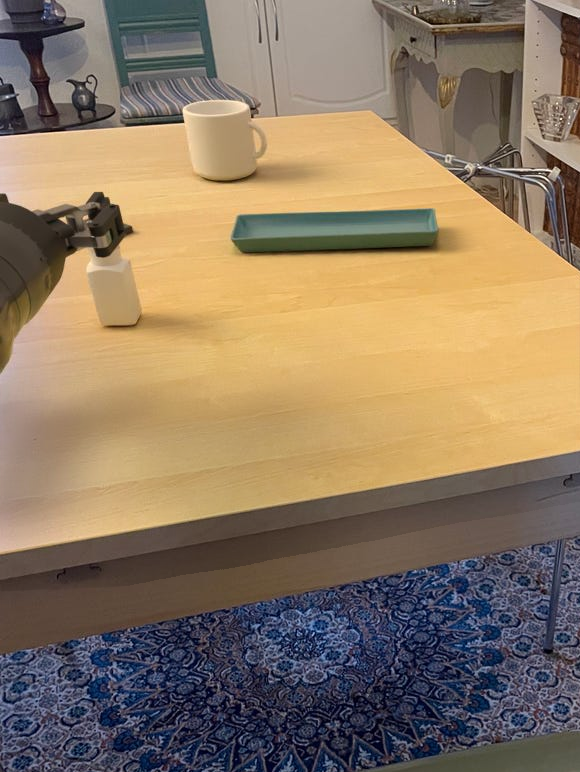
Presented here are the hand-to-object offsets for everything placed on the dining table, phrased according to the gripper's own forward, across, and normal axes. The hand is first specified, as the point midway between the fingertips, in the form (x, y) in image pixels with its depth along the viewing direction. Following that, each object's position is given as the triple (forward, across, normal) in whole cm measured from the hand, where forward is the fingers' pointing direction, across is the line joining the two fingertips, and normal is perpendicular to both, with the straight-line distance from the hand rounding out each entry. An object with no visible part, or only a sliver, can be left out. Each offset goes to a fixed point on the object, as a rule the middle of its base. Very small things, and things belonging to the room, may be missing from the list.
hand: (54, 204), depth 85 cm
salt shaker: (+11, 0, +16) cm, 19 cm away
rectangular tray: (+35, -23, +16) cm, 45 cm away
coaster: (+39, +9, +15) cm, 43 cm away
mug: (+65, -6, +15) cm, 67 cm away
